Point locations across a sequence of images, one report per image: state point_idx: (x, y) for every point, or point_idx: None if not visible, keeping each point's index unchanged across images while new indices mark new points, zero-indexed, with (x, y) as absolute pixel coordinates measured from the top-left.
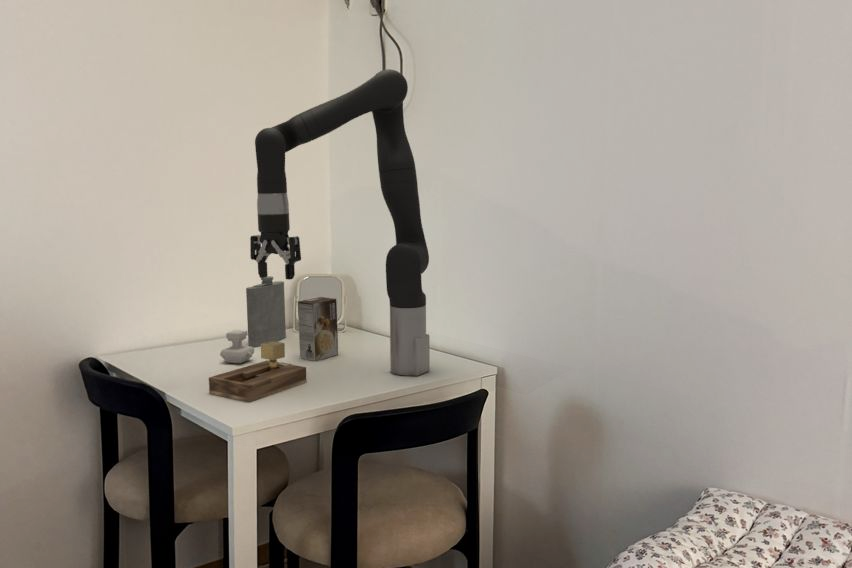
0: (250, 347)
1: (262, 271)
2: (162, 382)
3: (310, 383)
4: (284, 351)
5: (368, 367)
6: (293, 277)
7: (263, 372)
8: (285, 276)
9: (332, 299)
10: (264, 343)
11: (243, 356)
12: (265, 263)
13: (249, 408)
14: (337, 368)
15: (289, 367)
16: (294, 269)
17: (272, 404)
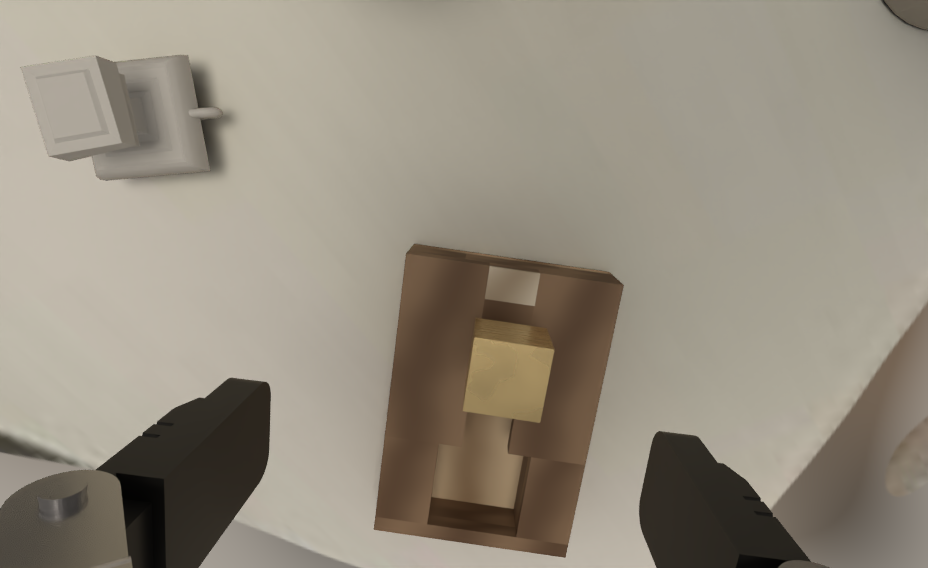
0: (171, 74)
1: (233, 493)
2: None
3: (629, 277)
4: (549, 337)
5: None
6: (696, 440)
7: None
8: (648, 544)
9: None
10: (472, 395)
11: (205, 149)
12: (176, 501)
13: (592, 562)
14: (622, 36)
15: (562, 316)
16: (783, 527)
17: (635, 512)
